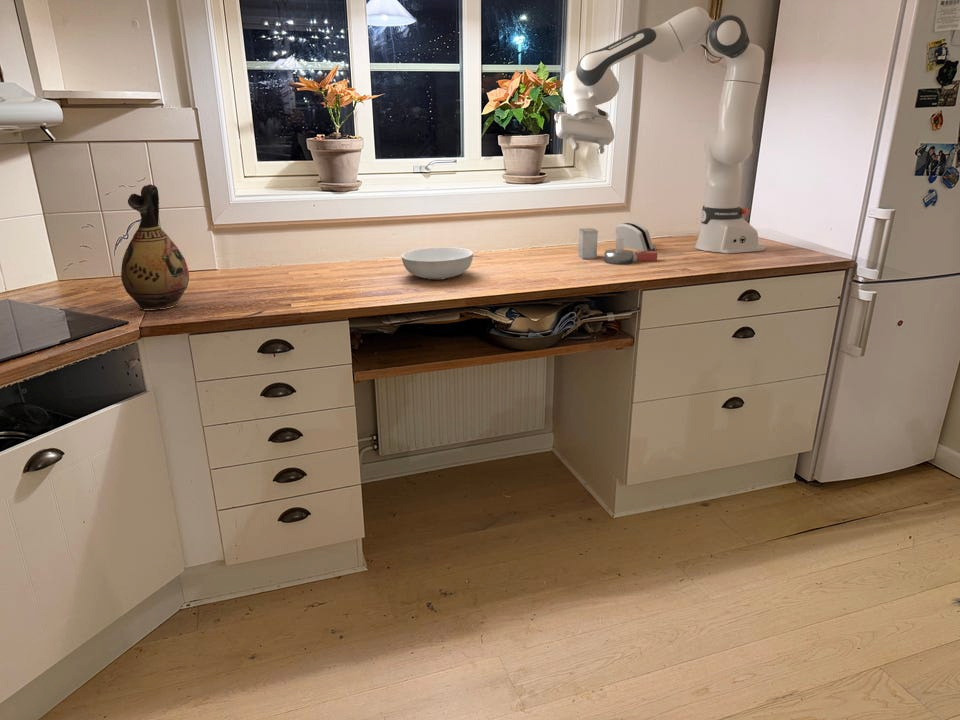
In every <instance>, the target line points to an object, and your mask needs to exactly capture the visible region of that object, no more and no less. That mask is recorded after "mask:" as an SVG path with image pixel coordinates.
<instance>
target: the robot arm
mask: <svg viewBox="0 0 960 720" xmlns="http://www.w3.org/2000/svg"><path fill="white" fill-rule="evenodd" d="M750 41H751V40H750V37H749V35H748V31H747V27H746V25H745V23H744V21H743V20H742V19H741V18H740V17H739V16H736V15H735V14H727V15H722V16H721V17H719V18H717V19H716V20H715V19H713V18H711V17H710V14H709V13H708V12H707V10H705V8H703V7H701V6H694V7H693V6H692V7H691V8H689V9H686V10H684V11H682V12H680V13H678V14H677V15H674V16H673V17H671V18H669V19H668V20H665V22H663V23H661V24H659V25H657V26H655V27H645V28H640V29H639V30H636V31H633V32H632V33H630V34H628V35H625V36H624V37H622V38H620V39H618V40H616V41H614V42H613V43H611V44H608V45H607V46H603V47H602V48H599V49H596V50H593V51H590V52H588V53H586V54H584V55H583V56H582V57H581V59H579V61H578V63H577V65H576V69H575V70H574V69H573V70H571V71H570V72H568V73H567V74H566V75H565V76H564V78H563V81H562V95H563V100H564V103H565V105H566V112H562V111H557V112H556V113H554V117H553V118H554V122H555V132H556V133H555V134H556V136H557V137H558V139H561V140H567V142H568V143H569V144H570V146H571V147H572V151H578V150H579V149H580V144H579V142H584V143H590V144H597V145H598V146H599V147H598V148H597V154H599V155H600V154H602V155H603V154H604V152H605V145H606V146H609V145H610V144H611V143H612V142H613V140H615V133H614V129H613V125H612V123H611V121H610V120H609V113H608V112H607V111H605V110H603V109H600V108H599V107H598V106H599V105H603V104H604V103H607V102H610V101H611V100H612V99H614V98H615V96H616V95H617V93H618V91H619V88H620V84H619V81H618V80H617V77H616V75H615V74H614V72H613V70H612V68H611V67H613V66H614V65H616V64H618V63H620V62H622V61H624V60H626V59H629V58H630V57H632V56H635V55H638V54H639V55H640V54H641V55H645V56H648V57H650V58H651V59H652V60H654V61H656V62H659V63H667V62H671V61H673V60H675V59H677V58H679V56H682V55H683V54H684V53H686V52H688V51H689V50H691V49H692V48H694V47H696V46H700V47H702V48H703V49H704V50H705V51H706V52H707V53H708V54H709V55H711V56H712V57H714V58H717V59H723V58H724V59H725V61H726V73H725V76H724V81H723V85H722V89H721V95H720V99H719V102H718V126H717V129H716V130H713V131H712V132H711V133H710V134H709V135H708V136H707V137H706V139H705V142H704V153H705V154H704V155H705V157H704V159H705V161H704V162H705V177H706V178H705V190H704V191H705V193H704V201H703V202H704V203H703V205H702V209H701V216H700V218H701V219H700V223H701V224H700V225H701V226H700V230H699V235H698V238H697V241H696V243H695V245H694V248H695V249H697V250H699V251H700V250H701V251H706V252H713V253H722V254H737V253H739V254H740V253H751V252H760V251H761V252H762V251H765V246H764V245H763V244H760V243H759V235H758V231H757V230H756V228H755V227H754V226H753V225H751V224H750V223H749V222H748V221H746V219H744V218H743V215H744V216H748V215H749V214H750V210H749V209H748V208H742V207H740V206H739V205H740V197H741V189H742V179H741V173H740V164H741V163H743V162H745V161H746V160H747V159H749V157H750V156H751V155H752V152H753V149H754V143H753V134H754V133H753V131H754V120H755V119H754V118H755V111H756V106H757V102H758V98H759V94H760V88H761V84H762V81H763V76H764V75H763V74H764V65H765V51H764V49H763V48H762V47H760V45H758V44H754V43H750Z"/></svg>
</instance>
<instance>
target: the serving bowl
mask: <svg viewBox="0 0 960 720" xmlns="http://www.w3.org/2000/svg"><path fill="white" fill-rule="evenodd" d="M473 257H474V252H473V251H472V250H470V249H469V248H464V247H463V248H462V247H457V246H456V247H453V246H435V247H433V246H432V247H423V248H416V249H412V250H409V251H406V252H404V253H402V254H401V262H402V264H403V266H404V268H405V270H406V271H407V272H409V273H410V274H411V275H413V276H416V277H417V278H422V279H426V278H428V279H427V280H431V279H441V280H443V279H442V278H448V279H450V278H449V277H451V278H453V277H456V276H459V275H462V274H463V273H464V272H466V271H468V269H469V268H470V267H471V264H472V263H473Z"/></svg>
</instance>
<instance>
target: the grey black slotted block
mask: <svg viewBox="0 0 960 720" xmlns="http://www.w3.org/2000/svg"><path fill="white" fill-rule="evenodd" d="M615 235H616V237H622V238H624V240H623V247H626V248H630V249H633V250H636V251H655V252H657V246H656V245H653V242H652V240H651V236H650V232H649V230H648V228H646V227H644V226H643V225H641V224H639V223H638V222H634V221H626V222H623V223H621V224H618V225H617V226H616V227H615Z"/></svg>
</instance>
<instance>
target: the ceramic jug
mask: <svg viewBox="0 0 960 720" xmlns="http://www.w3.org/2000/svg"><path fill="white" fill-rule="evenodd" d="M159 196H160V195H159V189H158V187H157V186H156V185H154V184H152V183H151V184H147V185H144V186H143V187H142V188H141V190H140V194H137V193H132V194H130V196H128V199H127V204H128V206H129V207H130V208H131V209H133V210H135V211H137V212H139V215H140V221H139V225H138V228H137V230H136V231H135V232H134V234H133V236H132V238H131V239H130V241H129V243H128V246H127V248H126V249H125V252H124V255H123V257H122V261H121V272H120V275H121V277H120V279H121V282H122V286H123V287H124V290H125V292H126V293H127V294H128V295H129V297H131V298H132V299H133V300H134V301H135V302H136V303H137V305H138V306H139V307H140V308H142V309H160V308H167V307H171V306H174V305H176V304H178V305H179V302H180V300H181V298H182V296H183V295H184V293H185V291H186V290H187V289H188V286H189V282H190V281H189V280H190V273H189V267H188V264H187V262H186V259H185V257H184V255H183V252H182V251H180V249H179V248H178V245H176V244H175V243H174V242H173V240H172V239H171V237H169V235H168V234H167V233H166V232H165V231H164V230H163V229H162V228H161V227H160V224H159V220H160V219H159V218H160V217H159V212H160V197H159ZM139 307H138V308H139Z"/></svg>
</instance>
